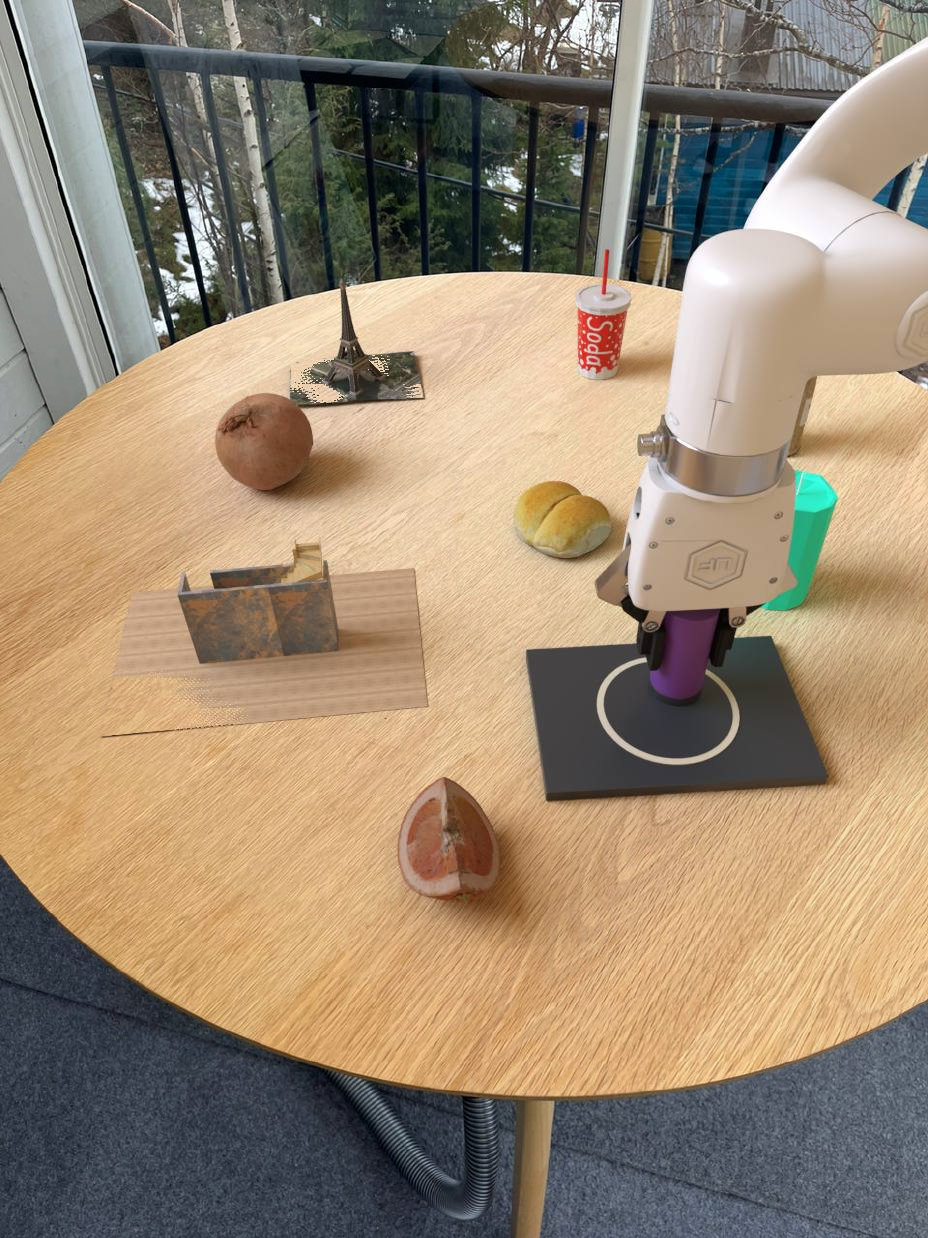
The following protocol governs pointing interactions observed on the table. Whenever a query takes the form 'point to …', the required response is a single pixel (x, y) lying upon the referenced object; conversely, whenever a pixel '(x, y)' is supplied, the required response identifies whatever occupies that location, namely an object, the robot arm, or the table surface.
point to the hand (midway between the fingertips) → (681, 653)
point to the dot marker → (684, 655)
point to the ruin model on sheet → (283, 640)
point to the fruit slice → (448, 845)
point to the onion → (264, 441)
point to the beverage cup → (601, 326)
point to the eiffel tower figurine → (361, 369)
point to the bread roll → (560, 520)
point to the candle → (806, 535)
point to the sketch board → (667, 725)
